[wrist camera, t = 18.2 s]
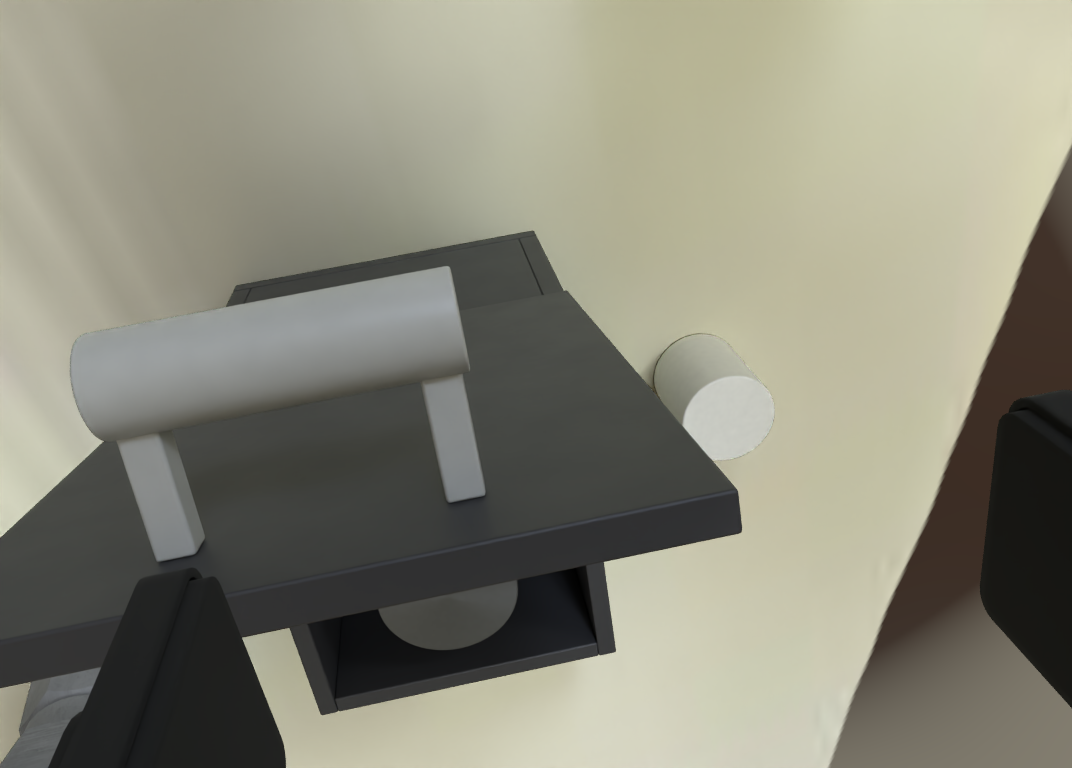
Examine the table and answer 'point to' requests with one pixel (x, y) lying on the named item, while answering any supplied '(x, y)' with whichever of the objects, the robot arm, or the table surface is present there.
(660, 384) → the cylinder
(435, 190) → the table surface
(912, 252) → the table surface
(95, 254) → the table surface
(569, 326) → the lid
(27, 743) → the coffeepot
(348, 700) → the coffee maker
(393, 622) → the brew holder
